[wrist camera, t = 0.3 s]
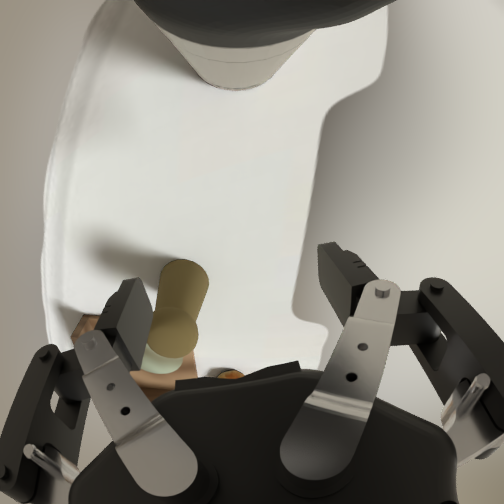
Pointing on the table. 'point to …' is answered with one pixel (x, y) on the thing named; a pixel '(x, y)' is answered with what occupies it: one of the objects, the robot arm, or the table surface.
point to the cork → (177, 309)
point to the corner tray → (150, 365)
